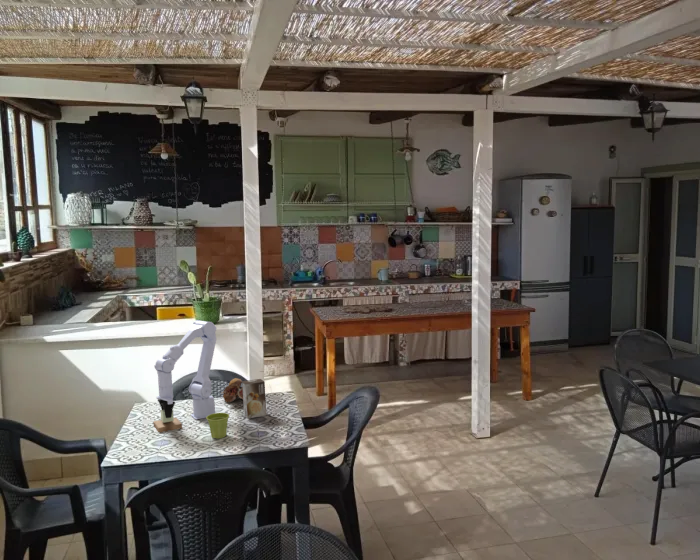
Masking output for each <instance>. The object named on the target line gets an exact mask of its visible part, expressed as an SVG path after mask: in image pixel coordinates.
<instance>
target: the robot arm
mask: <svg viewBox="0 0 700 560" xmlns="http://www.w3.org/2000/svg"><path fill="white" fill-rule="evenodd" d="M216 331H217V326H216V325H215V324H214V322H212V321H205V320H200V319H196V320H194V321H193V323H192V324H190V326H189V329H188V331H187V332H186V333H185V334H184V336H182V338H181V340H180V341H179V342H178V344H174V345H171V346H170V347H169V349H168V351H167V352H166V353H165V354H163V355H162V357H161V358H158V359H157V360H156V362H155V365H154V369H155V371H156V373H157V381H158V396H156V397H155V398H156V399H157V402H158V403H159V405H160V408H161V410H164V412H165V416H166V418H171V416H172V410H173V409H174V406H175V404H176V401H174V399H173V398H174V393H173V379H172V378H173V377H172V376H173V374H172V371H173V370H174V368H175V364H176V362H178V360H180V358H181V357H182V356H183V355H184V350H185V349H186V348H187V347H188V346H189V345H190V344H191V343H192V342H193V341H194V340H195V339H196V338H200V339H201V340H202V347H201V352H200V358H199V362H198V368H197V372H196V375H195V376H194V377H193V378H192V380H191V383H190V384H189V387H188V392H189V393H190V395H191V397H192V408H193V409H192V410H193V411H192V413H191V414H190V416H191V417H192V418H193V419H195V420H196V421H197V420H202V419H206V417H207V416H208V415H210V414H214V413H216V405H215V404H216V403H215V399H214V396H213V395H212V392H213V391H212V389H213V388H212V383H213V382H212V380H211V379H210V372H211V367H212V364H213V363H212V362H213V358H214V357H213V356H214V352H215V348H216V342H217V333H216ZM173 411H174V410H173Z"/></svg>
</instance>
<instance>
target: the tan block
mask: <svg viewBox="0 0 700 560" xmlns="http://www.w3.org/2000/svg"><path fill="white" fill-rule="evenodd" d="M153 427H154V428H156V429H155V430H156V431H157V433H158V432H160V433H163V431H165V432H169V431H168V430H170V431H175V430H174V429H176V430H180V429H179V428H181V429H183V424H182V421H180V420H179V419H178V417H174V421H170V422H165V423H163V422H162V420H161V419H160V420H154V421H153Z"/></svg>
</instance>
